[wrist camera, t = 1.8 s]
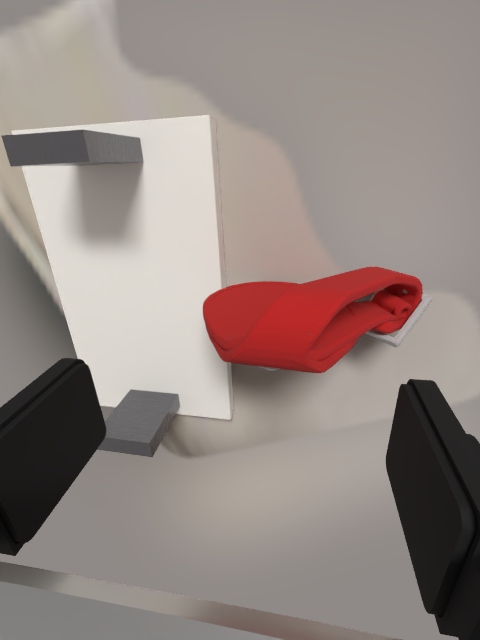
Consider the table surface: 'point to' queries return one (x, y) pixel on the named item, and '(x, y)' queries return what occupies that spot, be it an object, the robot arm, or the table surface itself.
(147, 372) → the board
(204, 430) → the table surface
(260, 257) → the table surface
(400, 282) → the red curved piece
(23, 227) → the table surface
